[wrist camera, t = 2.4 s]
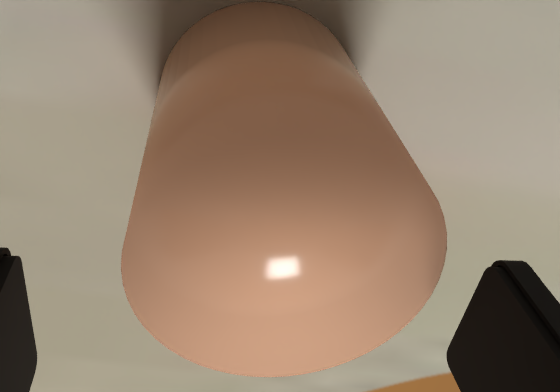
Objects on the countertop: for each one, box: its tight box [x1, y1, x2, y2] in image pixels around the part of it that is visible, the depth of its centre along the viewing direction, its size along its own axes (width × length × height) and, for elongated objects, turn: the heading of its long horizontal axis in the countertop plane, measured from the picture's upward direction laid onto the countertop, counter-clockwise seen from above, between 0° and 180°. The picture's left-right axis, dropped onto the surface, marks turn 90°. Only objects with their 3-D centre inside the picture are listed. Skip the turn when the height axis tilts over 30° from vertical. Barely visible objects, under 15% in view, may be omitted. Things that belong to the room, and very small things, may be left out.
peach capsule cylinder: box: [121, 2, 447, 377], centre depth 15 cm, size 7×7×9 cm
